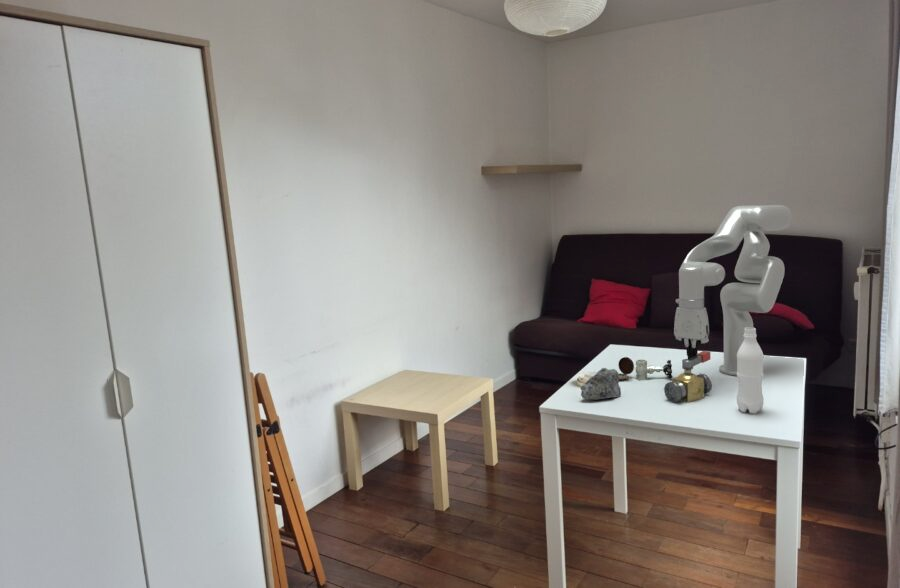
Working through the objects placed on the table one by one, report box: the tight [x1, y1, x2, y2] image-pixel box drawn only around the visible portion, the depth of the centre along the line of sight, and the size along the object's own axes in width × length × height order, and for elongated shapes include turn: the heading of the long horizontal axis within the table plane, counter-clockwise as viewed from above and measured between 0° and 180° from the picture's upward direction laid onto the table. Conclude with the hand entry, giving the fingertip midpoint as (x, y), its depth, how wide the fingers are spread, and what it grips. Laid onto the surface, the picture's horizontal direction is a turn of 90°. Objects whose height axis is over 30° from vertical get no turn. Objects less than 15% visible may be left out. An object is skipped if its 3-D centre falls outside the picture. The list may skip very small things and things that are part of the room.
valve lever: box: [681, 350, 711, 371], centre depth 212 cm, size 15×3×3 cm, turn 132°
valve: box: [634, 359, 673, 381], centre depth 231 cm, size 7×7×12 cm
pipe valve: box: [663, 369, 713, 404], centre depth 209 cm, size 14×8×9 cm, turn 117°
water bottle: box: [736, 326, 765, 415], centre depth 193 cm, size 7×7×25 cm
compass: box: [617, 356, 635, 382], centre depth 233 cm, size 8×8×7 cm
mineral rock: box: [580, 367, 622, 401], centre depth 215 cm, size 13×11×10 cm
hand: (692, 358), depth 216 cm, fingers closed
